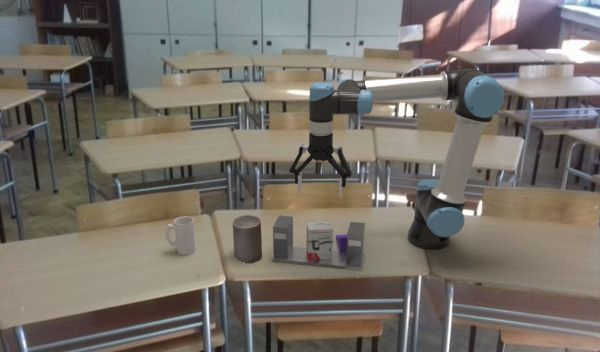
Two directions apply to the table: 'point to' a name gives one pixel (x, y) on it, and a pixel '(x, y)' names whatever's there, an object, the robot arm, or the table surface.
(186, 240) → the mug
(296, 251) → the rail
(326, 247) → the ink box
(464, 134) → the robot arm
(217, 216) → the table surface
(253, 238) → the pillar candle
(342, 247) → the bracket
